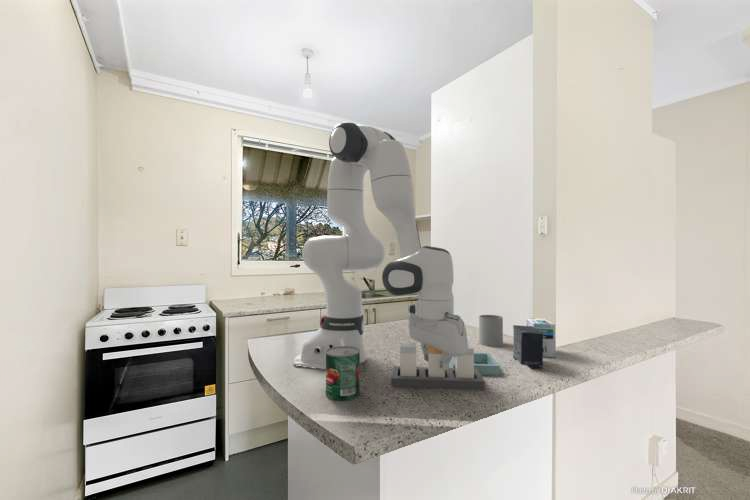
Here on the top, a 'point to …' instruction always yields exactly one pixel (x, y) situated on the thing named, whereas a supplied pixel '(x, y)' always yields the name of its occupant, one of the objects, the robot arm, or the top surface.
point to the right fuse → (465, 364)
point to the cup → (491, 330)
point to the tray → (483, 369)
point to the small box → (528, 346)
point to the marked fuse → (435, 362)
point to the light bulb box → (545, 335)
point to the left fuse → (408, 359)
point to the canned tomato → (342, 373)
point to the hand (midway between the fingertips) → (436, 364)
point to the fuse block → (437, 380)
